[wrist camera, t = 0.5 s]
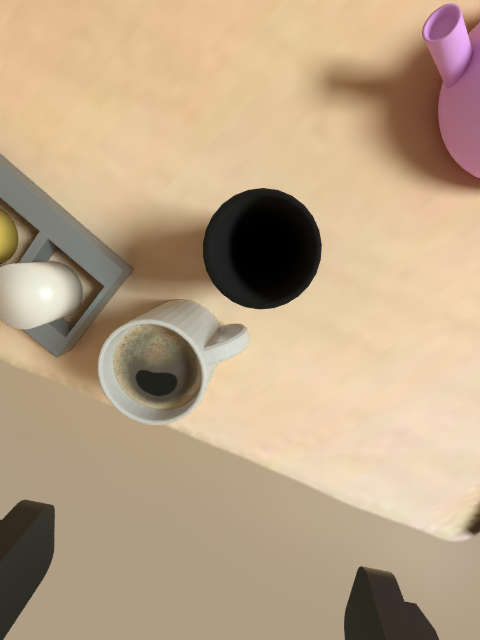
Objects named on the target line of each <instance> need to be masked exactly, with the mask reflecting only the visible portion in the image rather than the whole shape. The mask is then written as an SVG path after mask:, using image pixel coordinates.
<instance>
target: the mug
mask: <svg viewBox="0 0 480 640" xmlns="http://www.w3.org/2000/svg"><path fill="white" fill-rule="evenodd" d="M249 343H250V337H249V333H248V330H247V327H245V326H244V325H241V324H229V325H224V326H220V324H219V322H218V321H217V319H216V318H215V316H214V315H213V314H212V313H211V312H210V311H209V310H208V309H206V308H205V307H203V306H202V305H200V304H198V303H196V302H192V301H189V300H173V301H169V302H166V303H163V304H161V305H160V306H158V307H156V308H154V309H152V310H150V311H148V312H146V313H144V314H142V315H141V316H139V317H137V318H135V319H133V320H131V321H129V322H127V323H125V324H124V325H122V326H120V327H118V328H117V329H116V330H115V331H113V332H112V333H111V334H110V335H109V337H108V338H107V339H106V341H105V342H104V344H103V346H102V348H101V351H100V354H99V358H98V378H99V381H100V385H101V388H102V390H103V392H104V394H105V396H106V397H107V399H108V400H109V402H110V403H111V404H112V405H113V406H114V407H115V408H116V409H117V410H118V411H119V412H121V413H122V414H124V415H125V416H127V417H128V418H130V419H133V420H135V421H137V422H140V423H144V424H150V425H163V424H169V423H172V422H176V421H178V420H180V419H182V418H184V417H185V416H187V415H188V414H190V413H191V412H192V411H193V410H194V409H195V408H196V407H197V405H198V404H199V402H200V401H201V399H202V397H203V395H204V392H205V390H206V388H207V386H208V384H209V382H210V379H211V377H212V375H213V373H214V371H215V369H216V366H217V364H218V363H220V362H223V361H225V360H228V359H230V358H232V357H234V356H236V355H238V354H239V353H241V352H242V351H243V350H245V349H246V347H247V346H248V345H249Z"/></svg>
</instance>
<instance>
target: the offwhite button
mask: <svg viewBox="0 0 480 640" xmlns="http://www.w3.org/2000/svg"><path fill="white" fill-rule="evenodd" d="M82 296H83V290H82V285H81V282H80V280H79V278H78V276H77V274H76V273H75V272H74V271H73V270H72V269H71V268H70V267H68V266H67V265H65V264H63V263H60V262H56V261H47V262H32V263H17V264H8V265H4V266H2V267H0V320H2V321H3V322H4V323H5V324H7V325H9V326H11V327H13V328H17V329H31V328H34V327H37V326H40V325H43V324H46V323H49V322H52V321H55V320H58V319H61V318H64V317H67V316H69V315H71V314H73V313H74V312H75V311H76V310H77V309H78V307H79V306H80V304H81V301H82Z"/></svg>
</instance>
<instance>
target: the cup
mask: <svg viewBox="0 0 480 640" xmlns="http://www.w3.org/2000/svg"><path fill="white" fill-rule="evenodd" d="M321 247H322V244H321V238H320V232H319V229H318V227H317V224H316V222H315V220H314V218H313V216H312V215H311V213H310V212H309V211H308V209H307V208H306V207H305V206H304V205H303V204H302V203H301V202H299V201H298V200H297V199H295V198H294V197H293V196H291V195H289V194H286V193H284V192H282V191H279V190H274V189H266V188H260V189H252V190H247V191H245V192H242V193H239V194H237V195H235V196H233V197H232V198H230V199H229V200H228V201H226V202H225V203H223V204H222V205H221V207H220V208H219V209H218V210H217V211H216V212H215V214H214V215H213V216H212V218H211V220H210V222H209V224H208V226H207V228H206V233H205V237H204V241H203V258H204V262H205V266H206V271H207V273H208V275H209V277H210V278H211V280H212V282H213V284H214V285H215V286H216V287H217V289H218V290H219V291H220V292H221V293H222V294H223V295H224V296H226V297H227V298H228V299H230V300H231V301H232V302H234V303H237V304H239V305H242V306H244V307H248V308H254V309H270V308H275V307H278V306H281V305H284V304H287V303H289V302H290V301H292V300H293V299H295V298H297V297H298V296H299V295H300V294H301V293H302V292H303V291H304V290H305V289H306V288H307V287H308V286H309V285H310V283H311V281H312V280H313V278H314V276H315V275H316V273H317V269H318V266H319V263H320V260H321Z"/></svg>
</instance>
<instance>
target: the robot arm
mask: <svg viewBox="0 0 480 640" xmlns="http://www.w3.org/2000/svg"><path fill="white" fill-rule="evenodd" d="M54 520H55V509H54V506H53V505H50V504H45V503H40V502H35V501H29V500H22V501H20V502H19V503H18V504H17V505H16V506H15V507H14V508H13V509H12V510H11V511H10V512H9V513H8V514H7V515H6V516H5V517H4V518H3V520H0V640H3V639H4V638H5V636H6V634H7V633H8V631H9V630H10V628H11V627H12V625H13V624H14V622H15V621H16V619H17V618H18V616H19V615H20V613H21V612H22V610H23V609H24V607H25V606H26V604H27V603H28V601H29V600H30V598H31V597H32V595H33V593H34V592H35V590H36V589H37V587H38V586H39V584H40V583H41V581H42V580H43V578H44V576H45V575H46V573H47V571H48V569H49V566H50V564H51V561H52V557H53V553H54V525H55V524H54V522H55V521H54ZM344 631H345V640H439V638H438V636H437V633H436V631H435V629H434V628H433V627H432V625H431V624H430V622H429V621H428V620H427V618H426V617H425V616H424V614H423V613H422V611H421V610H420V609H419V607H418V606H417V604H415V603H410V602H405V601H404V599H403V596H402V594H401V591H400V589H399V586H398V583H397V581H396V578H395V576H394V575H393V574H392V573H391V572H387V571H382V570H377V569H372V568H367V567H362V566H361V567H359V569H358V571H357V574H356V577H355V580H354V584H353V587H352V590H351V593H350V597H349V600H348V603H347V607H346V610H345V619H344Z"/></svg>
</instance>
